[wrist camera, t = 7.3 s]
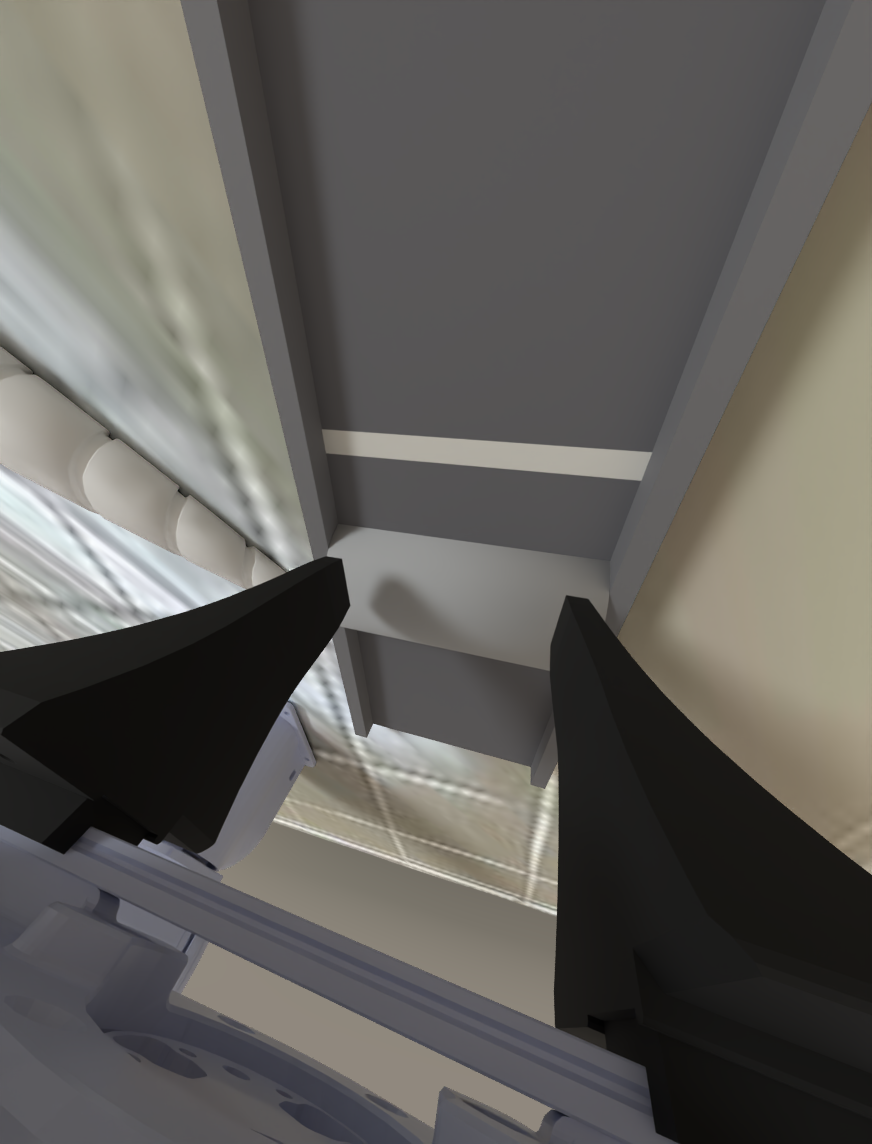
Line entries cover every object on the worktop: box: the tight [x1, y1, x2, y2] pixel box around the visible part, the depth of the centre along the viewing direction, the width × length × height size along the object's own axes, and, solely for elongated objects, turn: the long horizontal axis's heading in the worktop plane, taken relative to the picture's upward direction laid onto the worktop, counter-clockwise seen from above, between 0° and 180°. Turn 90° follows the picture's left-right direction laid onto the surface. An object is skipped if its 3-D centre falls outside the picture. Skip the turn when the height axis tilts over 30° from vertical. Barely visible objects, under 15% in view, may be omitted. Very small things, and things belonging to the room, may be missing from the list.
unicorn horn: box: [0, 346, 286, 589], centre depth 14 cm, size 5×24×5 cm, turn 48°
